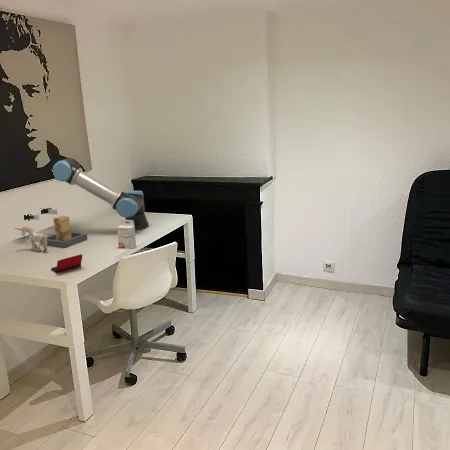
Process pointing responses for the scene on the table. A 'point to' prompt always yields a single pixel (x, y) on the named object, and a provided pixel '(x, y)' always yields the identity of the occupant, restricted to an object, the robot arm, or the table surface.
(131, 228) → the ink cartridge box
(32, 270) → the table surface
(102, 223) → the table surface
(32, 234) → the unicorn figurine
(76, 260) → the handheld game console
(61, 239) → the ochre block
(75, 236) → the tray
